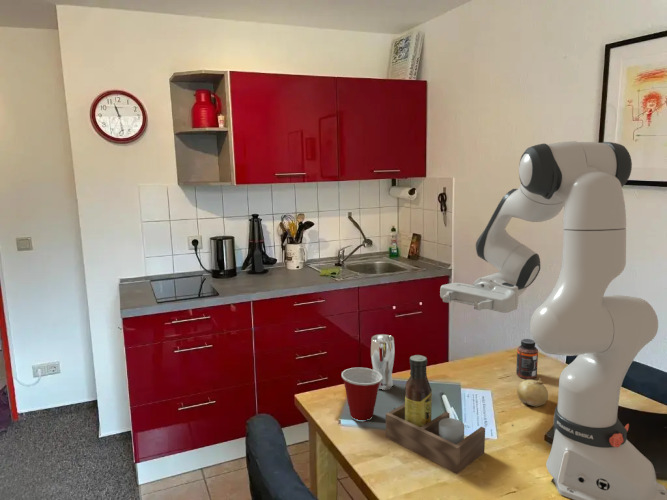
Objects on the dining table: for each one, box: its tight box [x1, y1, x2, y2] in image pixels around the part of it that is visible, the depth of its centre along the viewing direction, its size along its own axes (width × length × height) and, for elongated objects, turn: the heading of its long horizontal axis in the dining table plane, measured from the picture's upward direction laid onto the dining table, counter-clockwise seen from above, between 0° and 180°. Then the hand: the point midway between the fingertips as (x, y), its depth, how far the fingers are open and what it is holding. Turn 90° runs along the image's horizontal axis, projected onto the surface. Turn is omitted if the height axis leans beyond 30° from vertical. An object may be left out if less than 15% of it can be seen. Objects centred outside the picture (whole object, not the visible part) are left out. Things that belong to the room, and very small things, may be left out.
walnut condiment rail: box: [385, 403, 486, 475], centre depth 116 cm, size 20×11×7 cm, turn 43°
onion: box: [516, 377, 549, 407], centre depth 137 cm, size 8×8×7 cm
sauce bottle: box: [404, 354, 433, 427], centre depth 118 cm, size 7×6×20 cm
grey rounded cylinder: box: [439, 417, 465, 444], centre depth 113 cm, size 6×6×7 cm
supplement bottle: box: [515, 338, 539, 380], centre depth 153 cm, size 6×6×11 cm
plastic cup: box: [341, 367, 383, 420], centre depth 131 cm, size 11×11×12 cm
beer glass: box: [370, 333, 395, 391], centre depth 148 cm, size 7×7×15 cm
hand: (460, 302), depth 129 cm, fingers open, 8 cm apart
